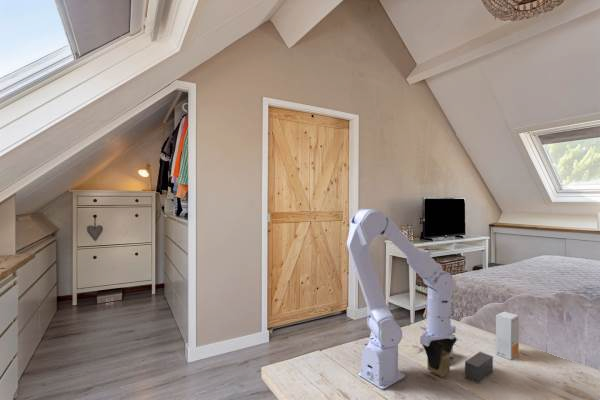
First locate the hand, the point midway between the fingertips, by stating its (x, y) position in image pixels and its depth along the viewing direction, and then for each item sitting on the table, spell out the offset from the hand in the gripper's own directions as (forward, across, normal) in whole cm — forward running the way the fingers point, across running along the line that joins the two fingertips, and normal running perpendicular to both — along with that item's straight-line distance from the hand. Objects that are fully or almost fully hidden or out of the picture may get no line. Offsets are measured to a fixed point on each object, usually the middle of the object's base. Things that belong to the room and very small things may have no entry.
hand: (438, 365), depth 81 cm
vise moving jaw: (+2, +8, +5) cm, 10 cm away
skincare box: (+2, +27, -7) cm, 28 cm away
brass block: (+1, 0, 0) cm, 1 cm away
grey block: (+2, +8, -7) cm, 11 cm away
